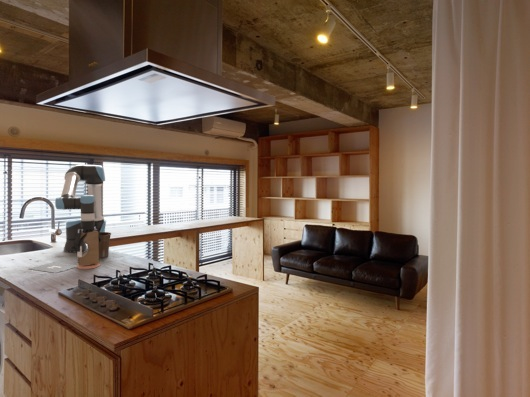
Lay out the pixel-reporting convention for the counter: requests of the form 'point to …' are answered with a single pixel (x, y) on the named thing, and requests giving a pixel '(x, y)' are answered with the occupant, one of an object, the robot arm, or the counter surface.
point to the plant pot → (104, 244)
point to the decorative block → (90, 249)
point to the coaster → (88, 266)
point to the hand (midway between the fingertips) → (88, 254)
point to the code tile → (54, 267)
